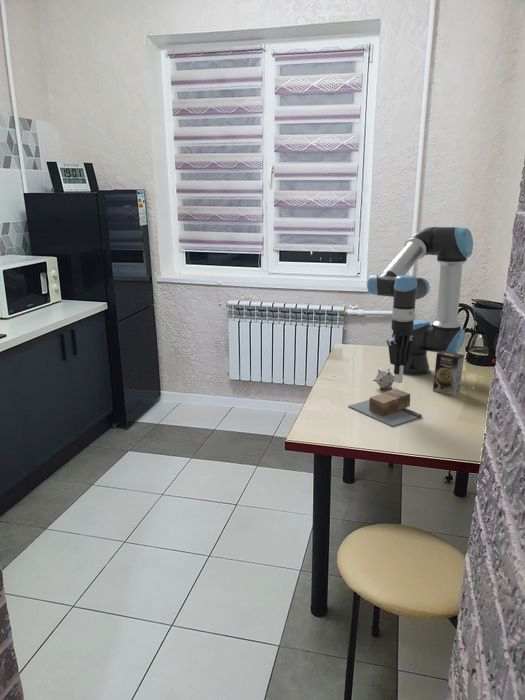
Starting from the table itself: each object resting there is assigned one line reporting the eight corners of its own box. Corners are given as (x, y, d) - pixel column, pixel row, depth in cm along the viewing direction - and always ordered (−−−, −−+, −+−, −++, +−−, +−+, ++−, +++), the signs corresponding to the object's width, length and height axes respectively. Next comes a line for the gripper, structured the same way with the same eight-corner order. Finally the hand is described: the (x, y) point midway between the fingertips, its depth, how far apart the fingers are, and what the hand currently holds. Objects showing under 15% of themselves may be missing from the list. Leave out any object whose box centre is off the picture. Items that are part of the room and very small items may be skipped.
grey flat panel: (376, 398, 202) (376, 396, 202) (421, 417, 184) (421, 414, 184) (348, 406, 194) (348, 404, 194) (392, 426, 176) (392, 424, 176)
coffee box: (432, 391, 211) (435, 353, 207) (439, 387, 216) (442, 350, 211) (453, 396, 205) (458, 357, 201) (460, 392, 210) (464, 354, 205)
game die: (387, 397, 214) (397, 384, 206) (368, 389, 214) (377, 375, 207) (392, 382, 219) (401, 368, 212) (373, 374, 220) (382, 360, 212)
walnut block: (395, 388, 196) (369, 397, 188) (410, 393, 190) (383, 403, 183) (395, 400, 197) (369, 410, 190) (409, 406, 191) (383, 416, 184)
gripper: (398, 323, 177) (393, 388, 183) (423, 319, 184) (418, 381, 190) (382, 319, 183) (378, 382, 189) (406, 315, 190) (402, 376, 196)
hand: (398, 381), depth 190 cm, fingers closed
